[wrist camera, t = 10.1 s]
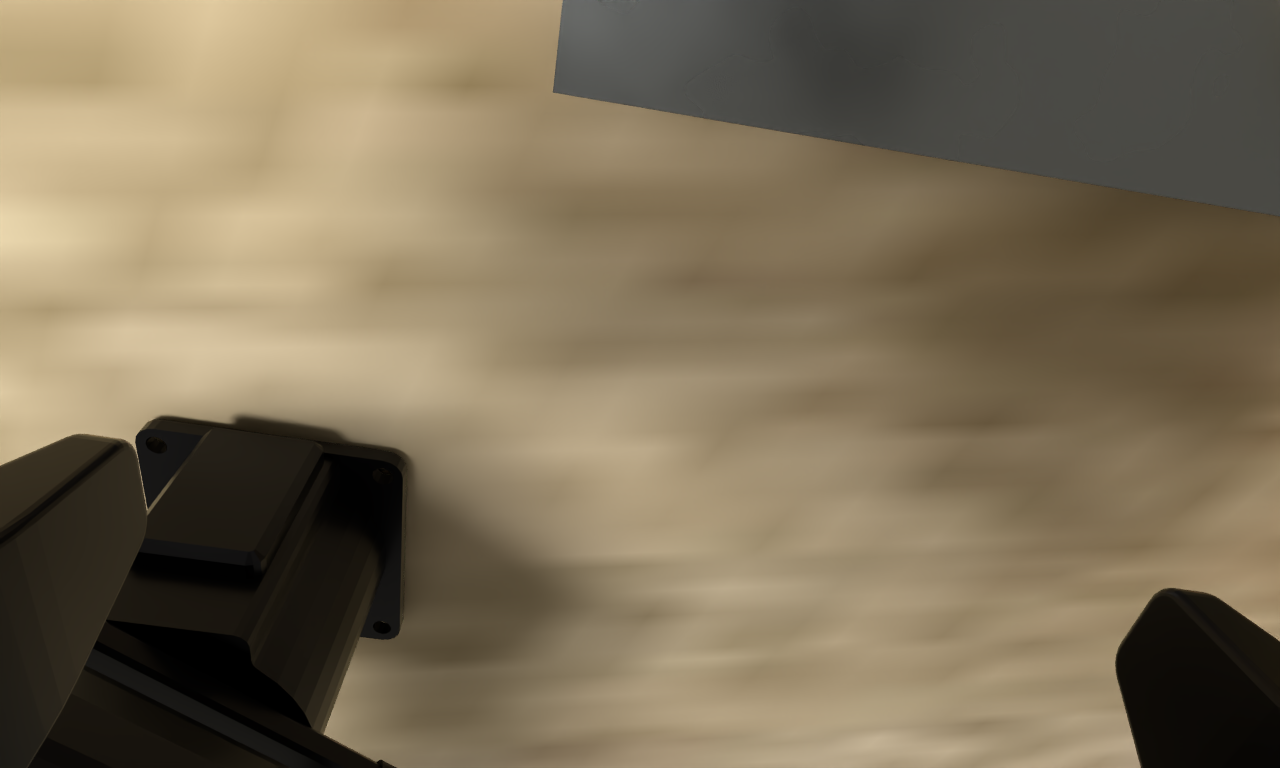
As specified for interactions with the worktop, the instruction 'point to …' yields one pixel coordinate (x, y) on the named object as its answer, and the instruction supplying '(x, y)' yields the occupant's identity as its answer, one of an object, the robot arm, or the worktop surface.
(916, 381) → the worktop surface
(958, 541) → the worktop surface
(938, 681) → the worktop surface
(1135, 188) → the plate
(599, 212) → the worktop surface
